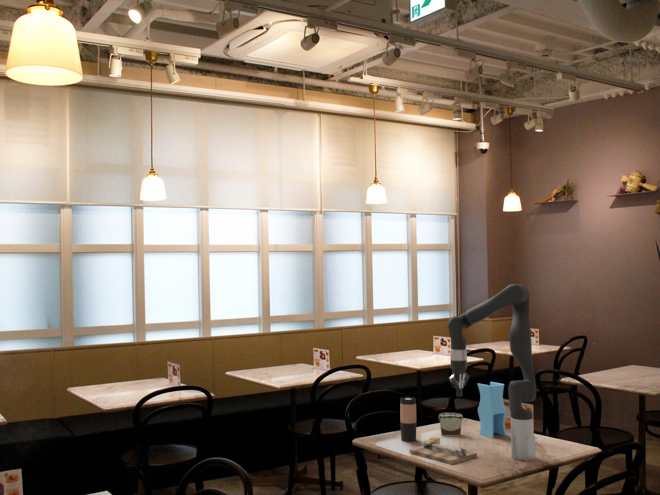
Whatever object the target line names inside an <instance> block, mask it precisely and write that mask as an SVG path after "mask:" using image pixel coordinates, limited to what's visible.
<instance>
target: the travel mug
mask: <svg viewBox="0 0 660 495" xmlns="http://www.w3.org/2000/svg"><path fill="white" fill-rule="evenodd" d="M399 403H400V404H399V405H400V411H399V412H400V415H399V416H400V419H399V420H400V440H401V441H403V442H409V443H410V442H411V443H412V442H415V441H417V398H415V397H413V396H402V397H400V401H399Z"/></svg>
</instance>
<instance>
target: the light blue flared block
mask: <svg viewBox="0 0 660 495" xmlns="http://www.w3.org/2000/svg"><path fill="white" fill-rule="evenodd" d="M477 387H478V390H479V395H480V398H479V405H478V407H477V413H478V417H479V421H480V423H479V424H480V429H479V435H480V436H484V437H486V436H487V438H491V439H494V435H495V434H497V433H498V434H497V435H501V436H505V437H506V435H507V436H508V434H507V431H506V426H505V425H506V417H507V413H508V412H507V408H506V405H505V402H504V397H503V396H504V387H505V384H504V383H500V382H494V381H490V383H489V385H488V384H483V383H477ZM499 400H500V401H499Z"/></svg>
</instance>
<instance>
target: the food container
mask: <svg viewBox="0 0 660 495" xmlns="http://www.w3.org/2000/svg"><path fill="white" fill-rule="evenodd" d="M437 420H439V425H440V426H439V427H440V434H441V436H450V437H451V436H455V437H456V436H459V437H460V436H461V435H462V424H463V422H462V421H463V420H464V416H463V414H461V413H457V412H442V413H439V415H438V418H437Z"/></svg>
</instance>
